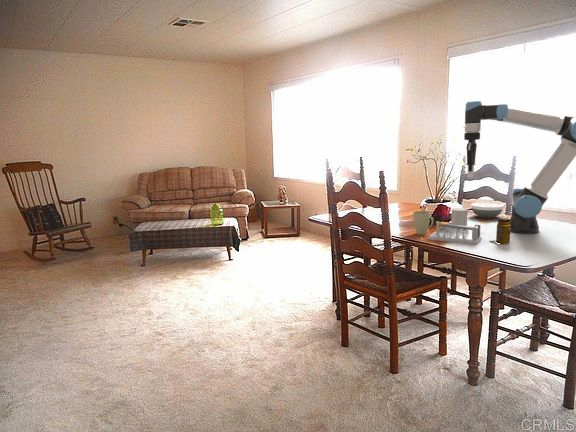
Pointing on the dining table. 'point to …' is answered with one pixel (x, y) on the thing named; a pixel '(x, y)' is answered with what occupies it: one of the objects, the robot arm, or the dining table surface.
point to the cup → (459, 217)
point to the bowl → (487, 209)
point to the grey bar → (456, 226)
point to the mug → (422, 221)
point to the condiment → (503, 232)
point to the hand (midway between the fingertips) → (470, 177)
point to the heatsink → (456, 235)
